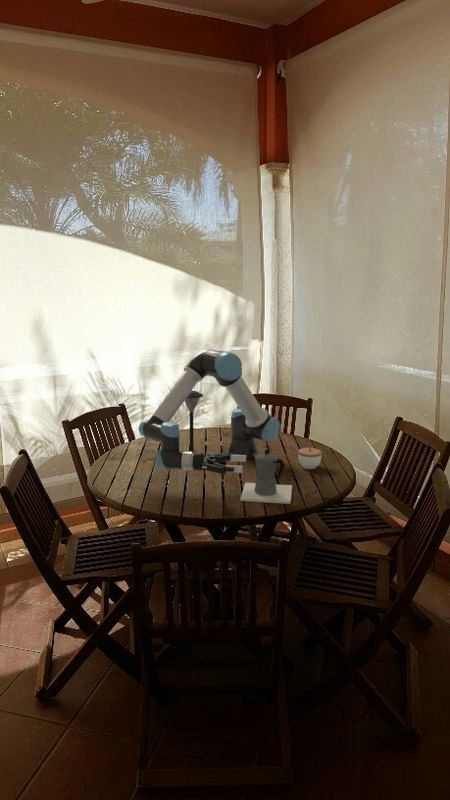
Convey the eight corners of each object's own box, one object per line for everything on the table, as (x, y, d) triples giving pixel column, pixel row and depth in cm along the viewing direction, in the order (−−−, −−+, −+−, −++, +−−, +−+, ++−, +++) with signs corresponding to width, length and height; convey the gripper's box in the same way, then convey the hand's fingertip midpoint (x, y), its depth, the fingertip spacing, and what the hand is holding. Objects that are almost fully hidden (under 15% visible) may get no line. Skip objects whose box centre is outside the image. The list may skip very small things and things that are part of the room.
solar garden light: (203, 454, 307) (203, 394, 301) (178, 453, 307) (178, 394, 301) (204, 446, 319) (204, 389, 313) (180, 446, 319) (179, 389, 313)
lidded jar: (320, 471, 284) (321, 452, 282) (296, 469, 286) (297, 450, 284) (321, 464, 294) (322, 445, 292) (298, 462, 296) (299, 443, 294)
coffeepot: (245, 490, 257) (246, 449, 253) (259, 484, 264) (260, 444, 260) (276, 500, 247) (277, 457, 243) (289, 493, 254) (291, 451, 250)
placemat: (245, 484, 267) (245, 482, 266) (292, 487, 264) (292, 485, 264) (240, 500, 249) (240, 498, 249) (290, 503, 247) (290, 501, 246)
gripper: (198, 460, 271) (247, 462, 268) (187, 480, 247) (240, 483, 244) (198, 443, 269) (247, 446, 266) (187, 462, 245) (241, 465, 242)
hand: (244, 463), depth 255 cm, fingers open, 13 cm apart
